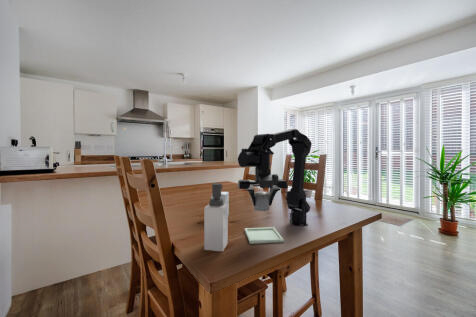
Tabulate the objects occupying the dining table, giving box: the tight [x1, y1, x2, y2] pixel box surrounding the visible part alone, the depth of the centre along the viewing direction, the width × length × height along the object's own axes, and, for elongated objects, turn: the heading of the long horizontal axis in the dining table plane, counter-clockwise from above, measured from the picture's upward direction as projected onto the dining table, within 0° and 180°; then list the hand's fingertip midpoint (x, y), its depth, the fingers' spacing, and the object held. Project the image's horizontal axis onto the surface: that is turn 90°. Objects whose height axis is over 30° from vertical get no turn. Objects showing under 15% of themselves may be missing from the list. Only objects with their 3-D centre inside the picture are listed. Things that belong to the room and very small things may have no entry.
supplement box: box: [210, 191, 230, 215], centre depth 106 cm, size 7×7×13 cm
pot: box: [253, 190, 270, 212], centre depth 84 cm, size 6×6×7 cm
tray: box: [244, 226, 285, 245], centre depth 84 cm, size 13×13×1 cm
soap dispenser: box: [203, 182, 229, 252], centre depth 75 cm, size 6×9×22 cm
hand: (262, 205), depth 84 cm, fingers closed on pot, 6 cm apart
